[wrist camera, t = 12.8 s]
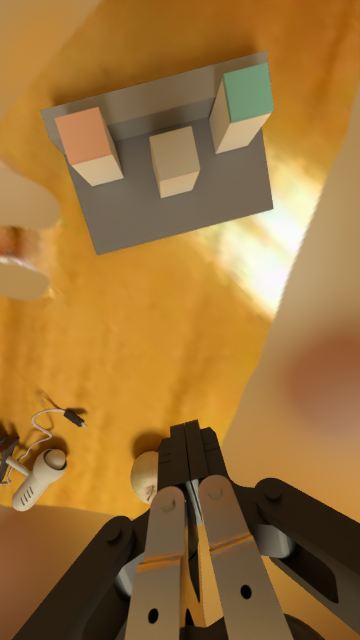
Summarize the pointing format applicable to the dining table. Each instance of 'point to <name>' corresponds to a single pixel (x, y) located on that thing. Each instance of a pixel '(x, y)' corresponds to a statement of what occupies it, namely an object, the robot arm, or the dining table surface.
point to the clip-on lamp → (35, 466)
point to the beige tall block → (174, 161)
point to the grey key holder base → (136, 163)
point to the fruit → (145, 476)
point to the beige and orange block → (89, 146)
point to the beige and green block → (241, 107)
